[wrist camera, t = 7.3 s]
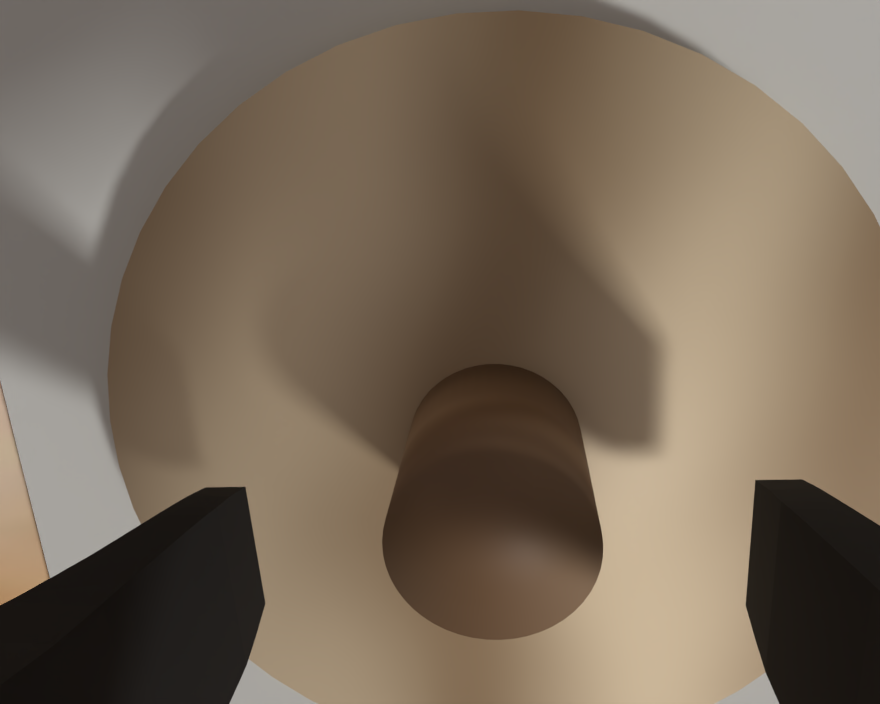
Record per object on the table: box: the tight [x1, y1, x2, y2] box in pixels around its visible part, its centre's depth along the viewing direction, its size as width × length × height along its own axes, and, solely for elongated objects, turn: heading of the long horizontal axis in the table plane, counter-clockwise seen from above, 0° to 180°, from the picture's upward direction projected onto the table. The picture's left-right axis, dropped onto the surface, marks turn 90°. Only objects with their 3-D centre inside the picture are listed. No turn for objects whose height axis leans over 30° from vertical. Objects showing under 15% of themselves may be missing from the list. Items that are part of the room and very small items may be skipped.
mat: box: [0, 0, 880, 704], centre depth 14 cm, size 18×16×1 cm
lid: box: [107, 10, 880, 704], centre depth 12 cm, size 13×13×4 cm
